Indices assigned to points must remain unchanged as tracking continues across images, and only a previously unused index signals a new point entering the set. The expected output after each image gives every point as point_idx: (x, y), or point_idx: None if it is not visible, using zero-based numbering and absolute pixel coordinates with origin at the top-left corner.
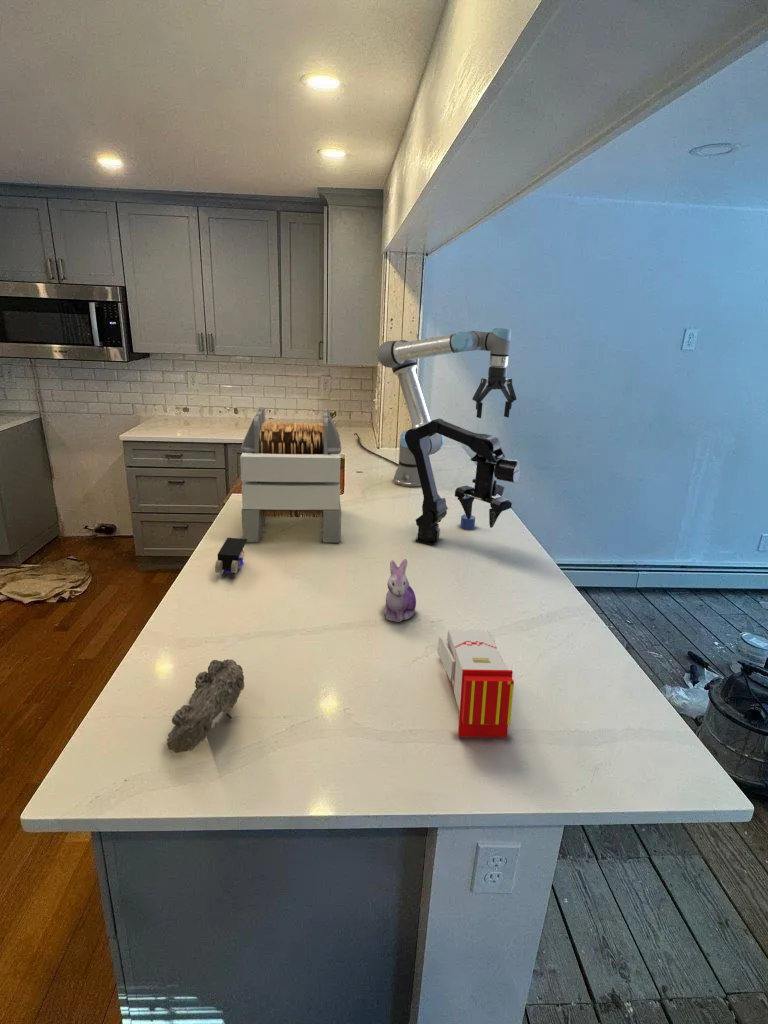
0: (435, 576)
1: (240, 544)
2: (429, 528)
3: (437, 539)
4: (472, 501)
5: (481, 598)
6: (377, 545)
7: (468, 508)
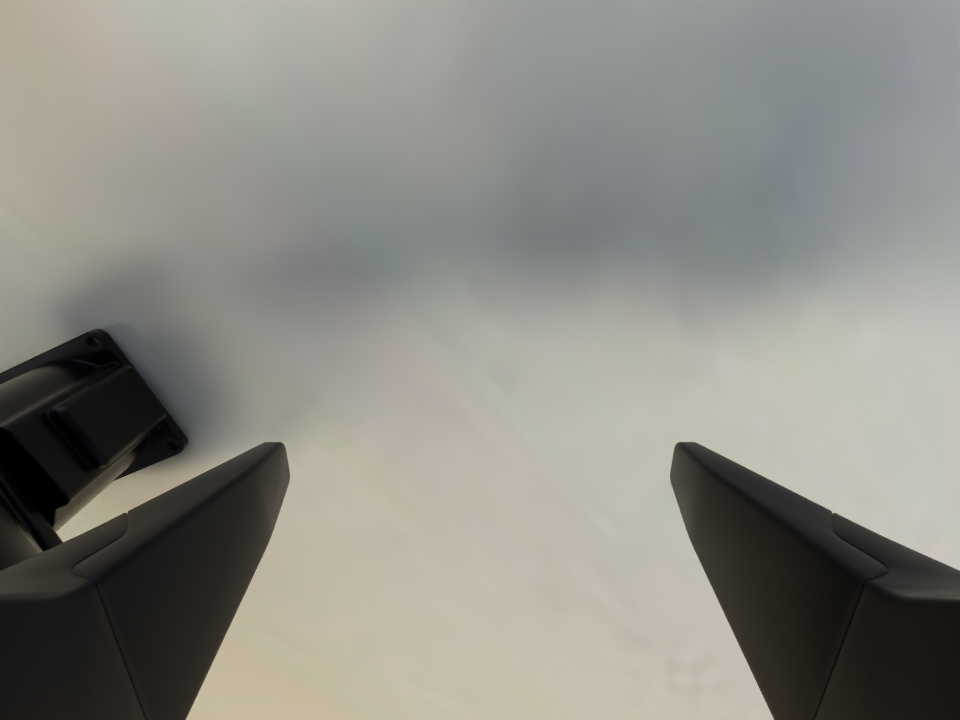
0: (526, 681)
1: None
2: (61, 525)
3: (149, 405)
4: (44, 620)
5: None
6: None
7: (194, 615)
